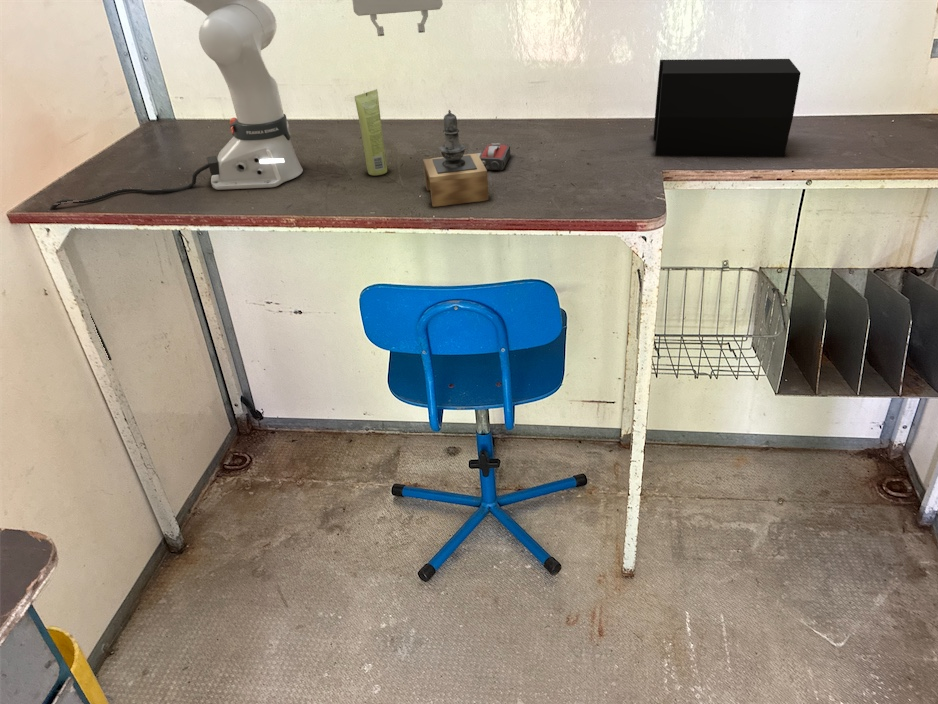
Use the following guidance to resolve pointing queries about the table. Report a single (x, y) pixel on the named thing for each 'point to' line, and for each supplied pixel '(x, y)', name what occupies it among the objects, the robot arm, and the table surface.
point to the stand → (456, 181)
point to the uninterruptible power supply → (725, 107)
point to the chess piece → (452, 143)
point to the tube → (371, 132)
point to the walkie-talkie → (495, 156)
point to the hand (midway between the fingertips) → (401, 33)
